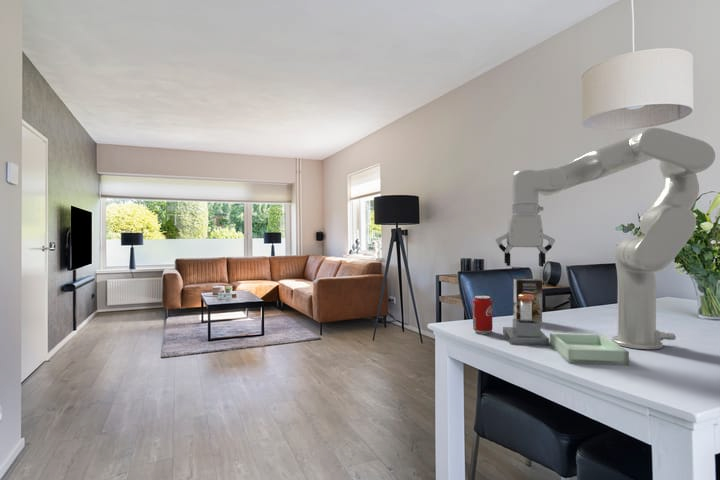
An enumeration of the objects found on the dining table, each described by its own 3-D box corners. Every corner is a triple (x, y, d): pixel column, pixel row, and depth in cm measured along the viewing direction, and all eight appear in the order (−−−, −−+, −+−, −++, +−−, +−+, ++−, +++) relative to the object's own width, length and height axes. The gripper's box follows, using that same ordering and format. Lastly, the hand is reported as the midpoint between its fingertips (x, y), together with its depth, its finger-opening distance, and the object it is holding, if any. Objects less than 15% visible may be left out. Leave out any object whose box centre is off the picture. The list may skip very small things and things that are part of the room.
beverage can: (493, 334, 139) (493, 298, 139) (473, 333, 140) (473, 297, 140) (491, 330, 145) (491, 295, 145) (472, 329, 146) (472, 295, 146)
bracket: (537, 334, 139) (537, 315, 139) (548, 345, 125) (548, 324, 125) (503, 332, 141) (502, 315, 141) (510, 343, 127) (509, 323, 127)
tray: (601, 346, 123) (601, 334, 123) (628, 365, 105) (628, 351, 105) (550, 344, 125) (550, 333, 125) (568, 363, 108) (568, 349, 108)
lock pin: (532, 332, 132) (531, 294, 132) (535, 336, 128) (535, 296, 128) (517, 332, 133) (517, 293, 133) (520, 335, 129) (519, 295, 128)
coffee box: (516, 324, 154) (516, 280, 154) (513, 320, 161) (512, 278, 161) (542, 324, 153) (542, 280, 153) (538, 321, 159) (538, 278, 159)
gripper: (551, 211, 132) (551, 265, 132) (494, 211, 135) (493, 264, 135) (558, 209, 125) (557, 267, 125) (497, 210, 128) (497, 266, 128)
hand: (524, 266), depth 130 cm, fingers open, 9 cm apart
